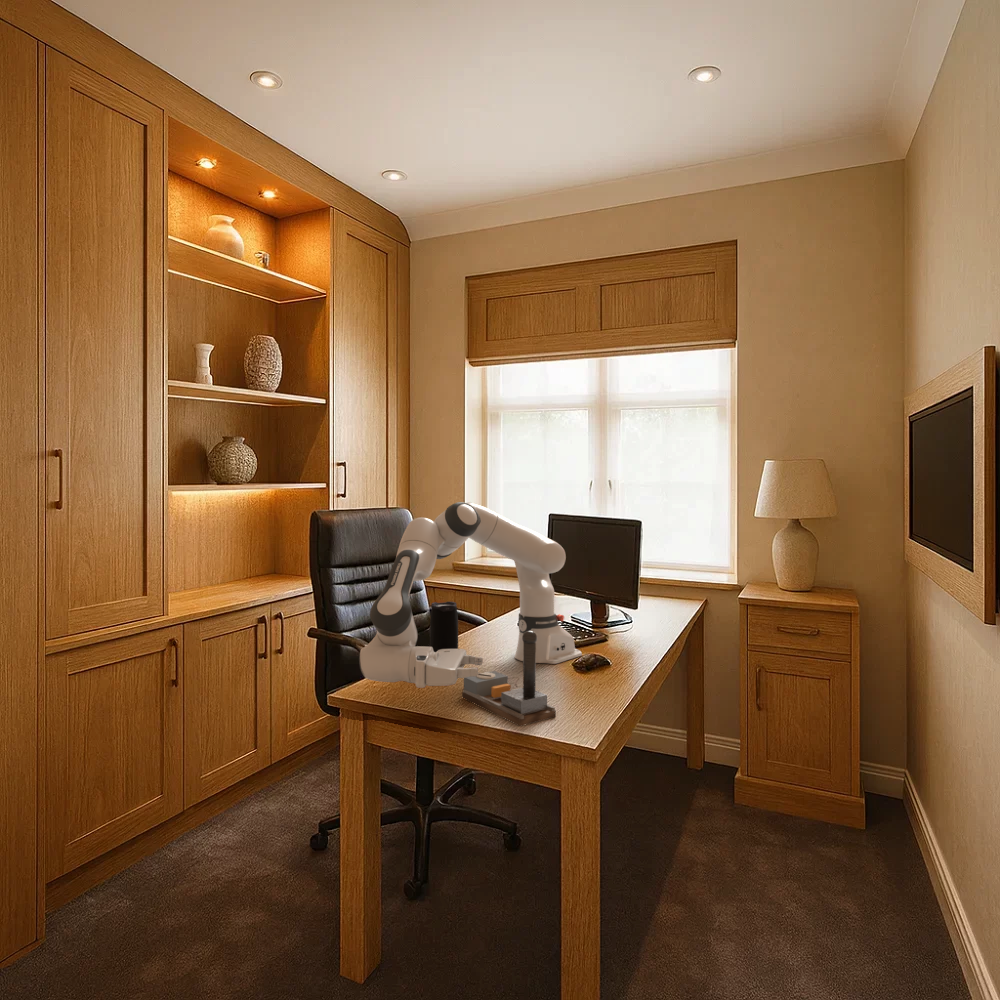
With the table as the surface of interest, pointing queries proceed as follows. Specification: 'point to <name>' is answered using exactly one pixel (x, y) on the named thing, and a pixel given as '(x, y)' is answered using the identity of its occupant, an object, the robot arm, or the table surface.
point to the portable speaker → (444, 626)
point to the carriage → (526, 682)
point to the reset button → (499, 690)
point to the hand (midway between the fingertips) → (480, 666)
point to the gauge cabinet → (484, 682)
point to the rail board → (497, 708)
